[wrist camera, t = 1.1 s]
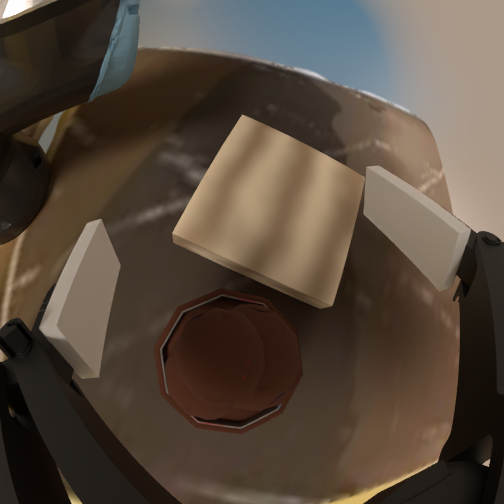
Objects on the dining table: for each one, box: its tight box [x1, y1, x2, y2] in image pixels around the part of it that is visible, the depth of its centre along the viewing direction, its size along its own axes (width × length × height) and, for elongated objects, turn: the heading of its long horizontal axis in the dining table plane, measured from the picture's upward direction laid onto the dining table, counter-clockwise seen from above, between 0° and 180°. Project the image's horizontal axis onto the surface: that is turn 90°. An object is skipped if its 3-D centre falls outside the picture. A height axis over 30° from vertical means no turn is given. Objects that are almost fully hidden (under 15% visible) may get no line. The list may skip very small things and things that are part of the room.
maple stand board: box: [173, 115, 365, 309], centre depth 33 cm, size 18×18×3 cm
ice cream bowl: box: [154, 288, 303, 434], centre depth 21 cm, size 11×11×15 cm
